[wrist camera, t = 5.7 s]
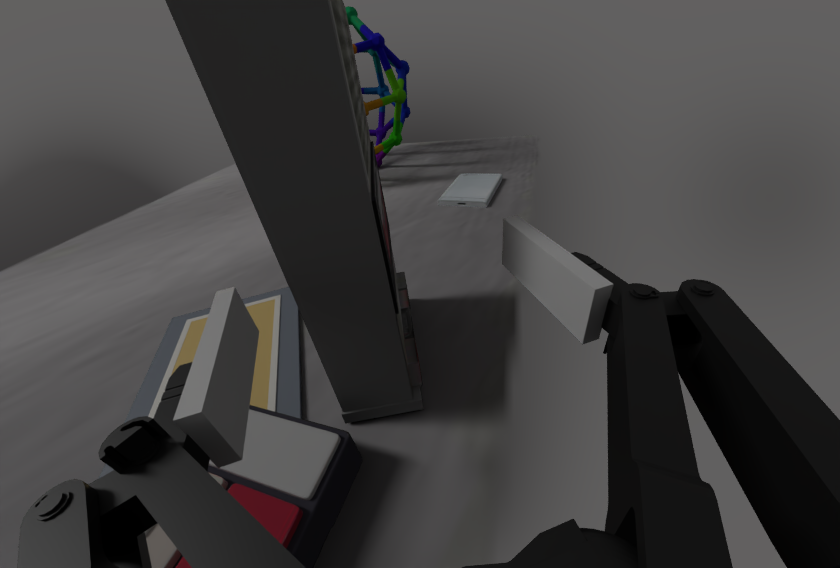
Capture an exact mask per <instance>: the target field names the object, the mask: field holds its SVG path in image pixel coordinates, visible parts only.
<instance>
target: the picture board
mask: <svg viewBox="0 0 840 568" xmlns="http://www.w3.org/2000/svg"><path fill="white" fill-rule="evenodd" d="M242 301H243V303H244V305H245V306H246V308H247V310H248V312H249V314H250V316H251V317H252V319H253V321H254V323H255V325H256V326H257V328H258V330H259V338H258V346H257V353H256V361H255V368H254V376H253V383H252V391H251V398H250V405H252V406H256V407H260V408H263V409H267V410H271V411H274V412H278V413H282V414H285V415H289V416H293V417H296V418H300V419H302V400H301V365H300V329H299V308H298V306H297V304H296V301H295V299H294V297H293V295H292V292H291V290H290V288H289V287H286V288H283V289H279V290H275V291H271V292H268V293H264V294H260V295H256V296H253V297H249V298H245V299H242ZM210 309H211V308H208V309H204V310H200V311H196V312H193V313H189V314H185V315H181V316H178V317H174V318H172V320H171V322H170V324H169V327H168V329H167V331H166V333H165V335H164V337H163V340H162V342H161V344H160V346H159V348H158V350H157V353H156V355H155V357H154V359H153V361H152V364H151V366H150V368H149V370H148V372H147V374H146V377H145V379H144V381H143V383H142V385H141V388H140V390H139V392H138V394H137V396H136V398H135V401H134V403H133V405H132V407H131V409H130V411H129V414H128V416H127V418H126V420H125V422H124V423H126V422H127V421H129V420H132V419H134V418H137V417H143V416H148V417H151V418H154V415H155V413H156V410H157V408H158V405H159V403H160V402H161V398H162V395H163V393H164V392H165V387H166V385H167V382H168V380H169V378H170V376H171V375H172V374H173V373H174V372H175V370H176V369H177V368H178V367H179V366H180V365H183V364H187V363H190V362H193V359H194V357H195V354H196V351H197V348H198V345H199V342H200V339H201V336H202V333H203V330H204V327H205V324H206V321H207V318H208V315H209V312H210ZM113 470H114V469H112V468H111V467H110V466H108V465H107V464H105V466H104V468H103V470H102V472H101V475H100V477H99V478H101V477H103V476H104V475H106V474H108V473H110V472H111V471H113Z"/></svg>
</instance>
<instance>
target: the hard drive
mask: <svg viewBox="0 0 840 568" xmlns="http://www.w3.org/2000/svg"><path fill="white" fill-rule="evenodd" d="M501 181H502V174H460V175H459V176H458V177H457V178H456V180H455V181H454V182H453V183H452V184H451V185H450V187H449V188H448V189H447V190H446V191H445V193H444V194H443V195H442V196H441V197H440V199H439V200H438V205H446V206H465V207H485V208H487V206H488V204H489V202H490V201H491V199H492V197H493V195H494V194H495V192H496V190H497V188H498V187H499V185H500V183H501Z"/></svg>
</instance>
